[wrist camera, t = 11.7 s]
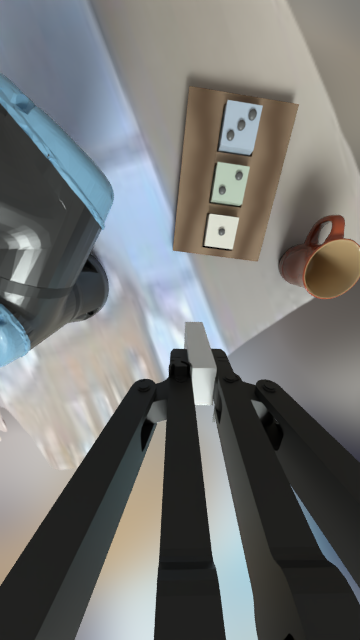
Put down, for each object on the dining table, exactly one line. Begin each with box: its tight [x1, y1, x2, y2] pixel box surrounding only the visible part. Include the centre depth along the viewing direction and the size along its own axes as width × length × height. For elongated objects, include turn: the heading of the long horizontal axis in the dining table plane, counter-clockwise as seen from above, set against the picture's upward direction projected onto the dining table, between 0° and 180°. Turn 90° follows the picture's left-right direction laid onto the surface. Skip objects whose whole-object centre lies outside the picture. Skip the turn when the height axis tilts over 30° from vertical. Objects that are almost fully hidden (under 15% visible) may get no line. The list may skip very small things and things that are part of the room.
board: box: [173, 86, 299, 261], centre depth 32 cm, size 16×22×2 cm
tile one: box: [203, 214, 239, 249], centre depth 34 cm, size 5×5×4 cm
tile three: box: [217, 100, 263, 156], centre depth 29 cm, size 5×5×4 cm
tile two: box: [209, 162, 250, 207], centre depth 32 cm, size 5×5×4 cm
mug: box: [279, 215, 360, 299], centre depth 33 cm, size 12×9×10 cm
